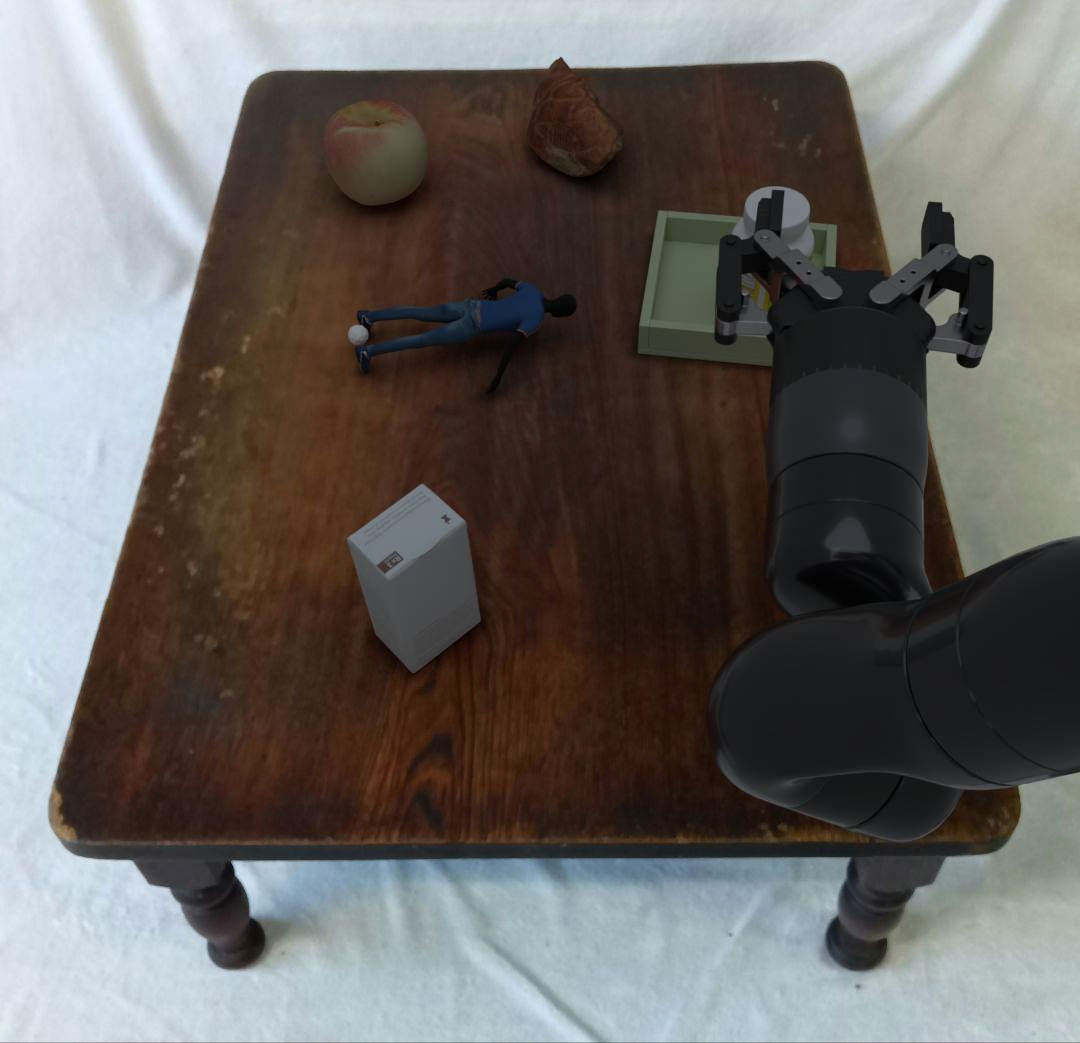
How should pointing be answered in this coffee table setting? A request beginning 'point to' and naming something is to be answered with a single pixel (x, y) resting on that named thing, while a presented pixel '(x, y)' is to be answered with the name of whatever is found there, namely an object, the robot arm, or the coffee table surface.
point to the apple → (375, 151)
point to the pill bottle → (792, 233)
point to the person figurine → (466, 322)
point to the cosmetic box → (417, 576)
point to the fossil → (571, 124)
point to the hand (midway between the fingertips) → (852, 207)
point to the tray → (701, 289)
